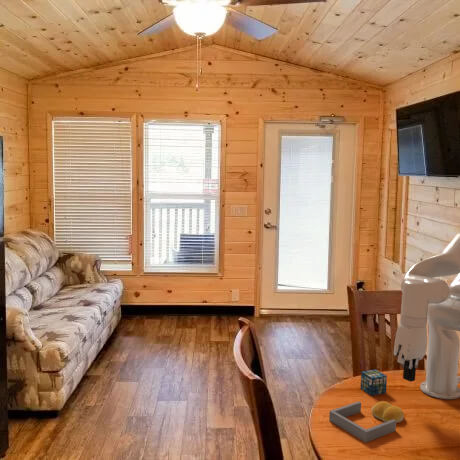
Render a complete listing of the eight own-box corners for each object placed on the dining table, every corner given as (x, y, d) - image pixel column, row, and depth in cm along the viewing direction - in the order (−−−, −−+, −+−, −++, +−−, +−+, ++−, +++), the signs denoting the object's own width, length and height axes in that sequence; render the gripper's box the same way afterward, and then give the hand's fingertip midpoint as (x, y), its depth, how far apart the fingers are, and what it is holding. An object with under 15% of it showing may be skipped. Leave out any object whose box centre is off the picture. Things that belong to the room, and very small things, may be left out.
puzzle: (386, 393, 168) (387, 375, 167) (371, 396, 166) (372, 378, 165) (374, 386, 173) (375, 369, 173) (360, 388, 171) (360, 371, 170)
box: (358, 410, 155) (358, 401, 155) (395, 430, 143) (396, 420, 143) (329, 420, 149) (329, 410, 148) (365, 442, 137) (366, 432, 137)
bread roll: (394, 427, 146) (394, 414, 145) (367, 415, 153) (368, 402, 152) (409, 418, 151) (410, 405, 151) (383, 407, 158) (383, 395, 158)
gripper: (418, 315, 161) (414, 371, 163) (386, 320, 153) (382, 379, 155) (439, 321, 155) (434, 379, 156) (407, 327, 146) (402, 388, 148)
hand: (408, 379), depth 155 cm, fingers closed
